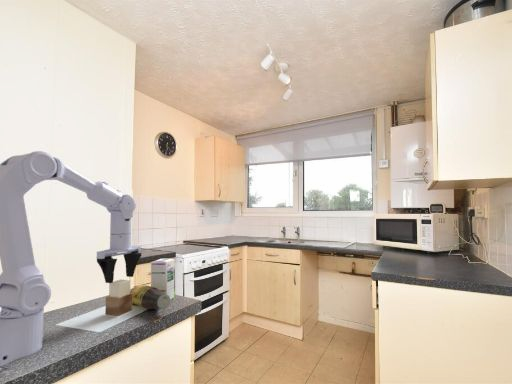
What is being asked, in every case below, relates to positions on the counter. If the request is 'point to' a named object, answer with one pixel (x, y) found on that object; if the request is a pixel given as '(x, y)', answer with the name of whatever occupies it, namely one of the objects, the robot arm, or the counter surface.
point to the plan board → (100, 319)
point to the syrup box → (164, 276)
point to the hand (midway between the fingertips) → (120, 279)
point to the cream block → (119, 288)
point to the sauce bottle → (149, 297)
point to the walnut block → (118, 305)
